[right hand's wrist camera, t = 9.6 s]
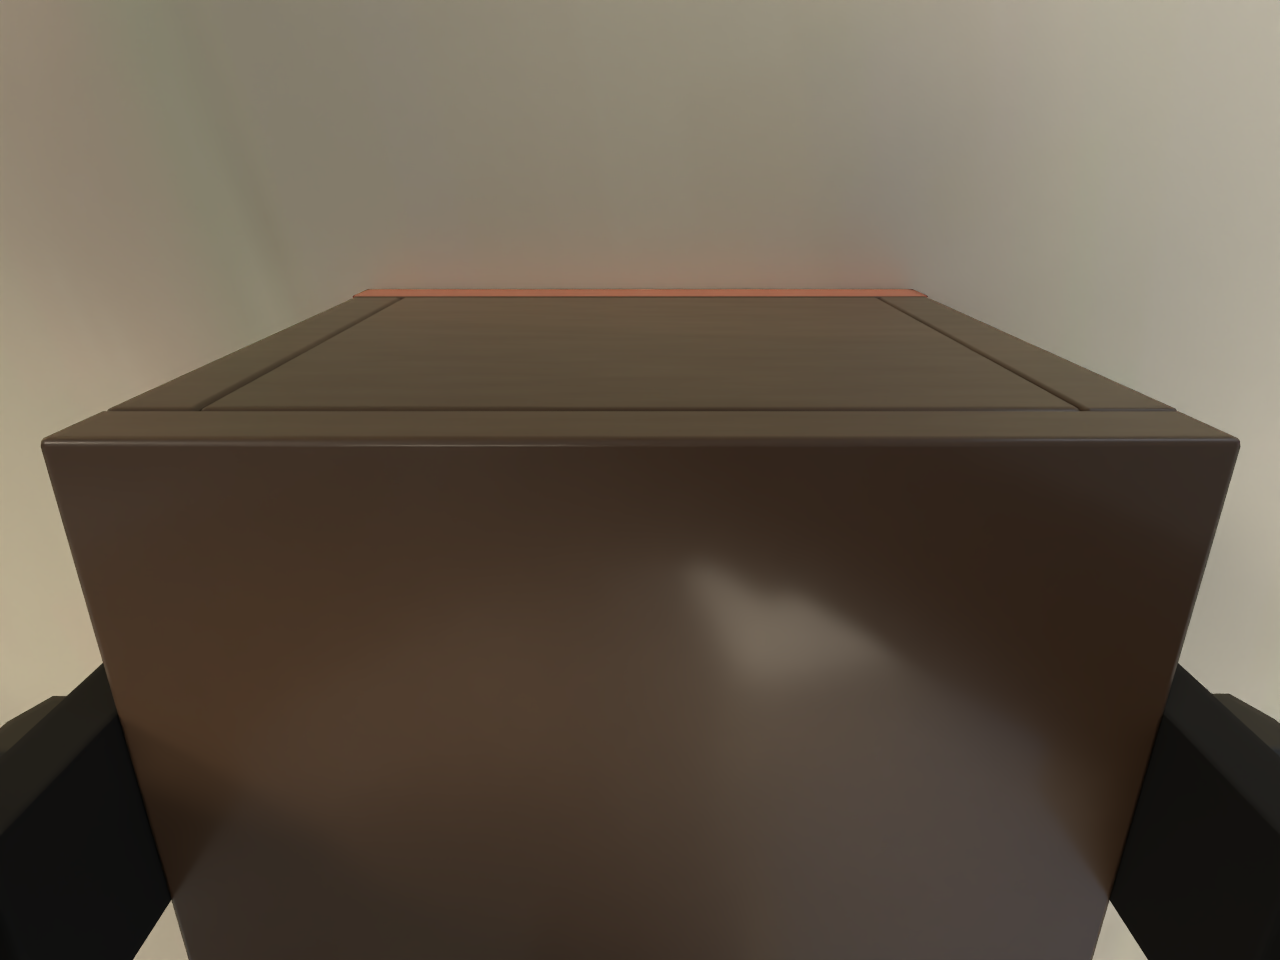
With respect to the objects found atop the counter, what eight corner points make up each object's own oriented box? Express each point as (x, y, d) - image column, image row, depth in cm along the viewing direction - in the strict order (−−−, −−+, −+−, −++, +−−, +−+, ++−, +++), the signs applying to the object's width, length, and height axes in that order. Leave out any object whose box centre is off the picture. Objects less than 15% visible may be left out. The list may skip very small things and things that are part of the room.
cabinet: (833, 936, 23) (959, 1430, 14) (446, 936, 23) (321, 1430, 14) (912, 289, 16) (1249, 436, 7) (367, 289, 16) (32, 437, 7)
